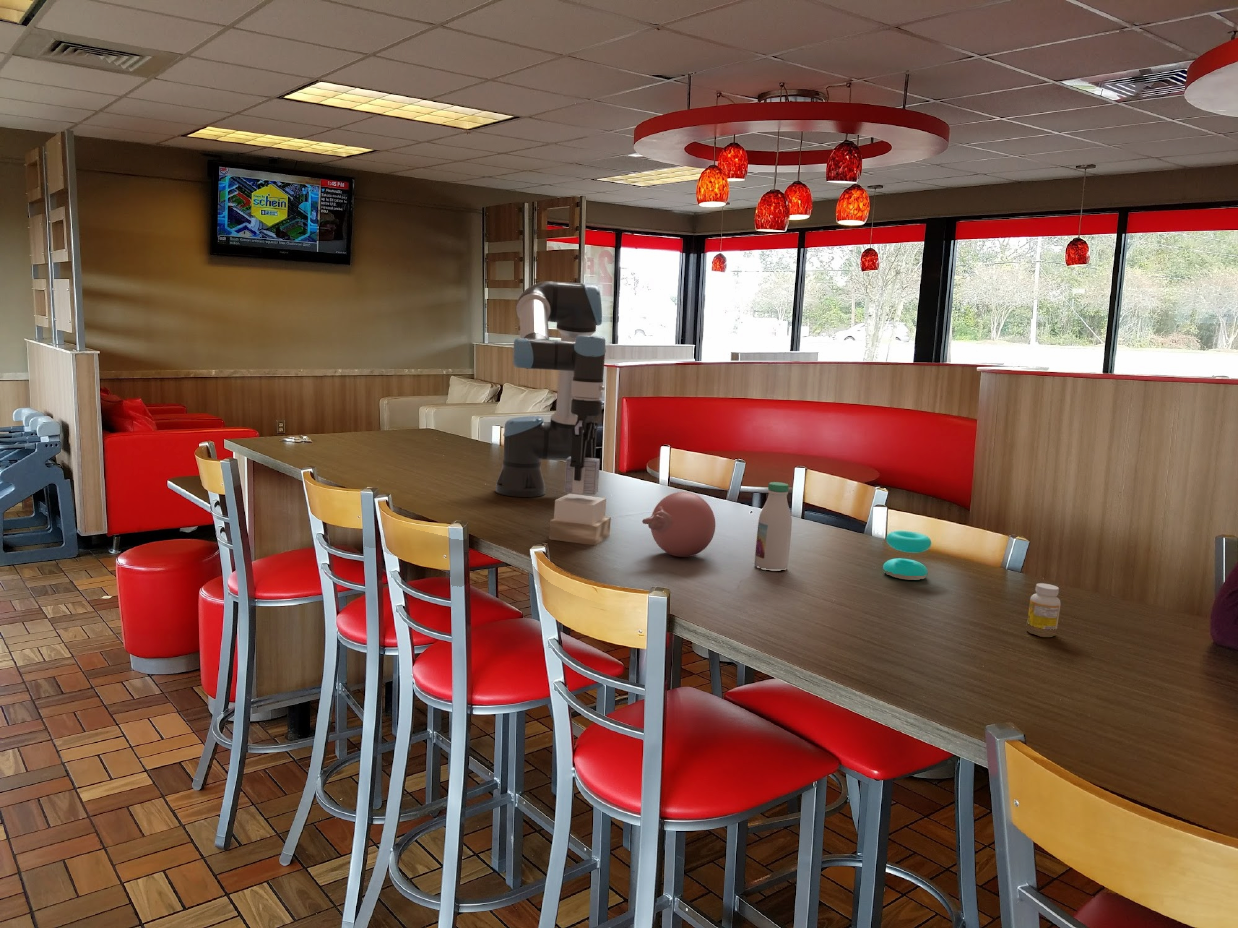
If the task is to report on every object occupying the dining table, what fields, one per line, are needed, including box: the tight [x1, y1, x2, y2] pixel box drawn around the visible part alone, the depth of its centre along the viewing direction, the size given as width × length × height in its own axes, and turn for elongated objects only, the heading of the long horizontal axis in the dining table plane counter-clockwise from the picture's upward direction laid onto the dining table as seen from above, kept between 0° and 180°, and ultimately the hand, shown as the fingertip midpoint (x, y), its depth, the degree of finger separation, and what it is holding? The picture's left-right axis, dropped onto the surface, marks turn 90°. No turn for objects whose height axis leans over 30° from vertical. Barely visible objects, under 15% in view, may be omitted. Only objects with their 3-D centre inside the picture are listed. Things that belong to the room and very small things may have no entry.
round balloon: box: [642, 491, 716, 558], centre depth 217 cm, size 15×20×15 cm
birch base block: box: [548, 516, 612, 546], centre depth 231 cm, size 12×12×5 cm
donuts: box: [882, 530, 932, 576], centre depth 214 cm, size 10×10×10 cm
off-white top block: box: [553, 493, 607, 525], centre depth 231 cm, size 10×10×5 cm
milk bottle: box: [754, 481, 793, 569], centre depth 213 cm, size 8×8×20 cm
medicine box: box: [564, 456, 601, 496], centre depth 230 cm, size 8×4×9 cm, turn 82°
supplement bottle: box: [1026, 582, 1061, 630], centre depth 178 cm, size 5×5×10 cm
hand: (581, 491), depth 230 cm, fingers closed on medicine box, 5 cm apart
